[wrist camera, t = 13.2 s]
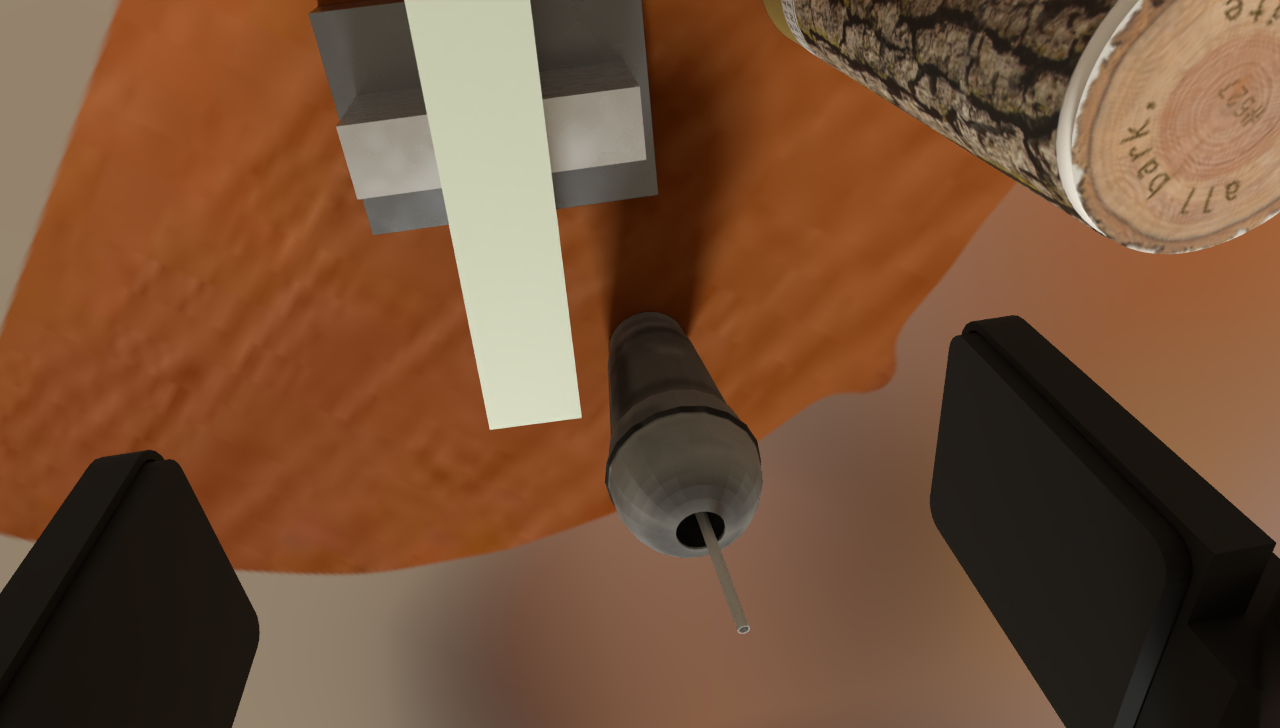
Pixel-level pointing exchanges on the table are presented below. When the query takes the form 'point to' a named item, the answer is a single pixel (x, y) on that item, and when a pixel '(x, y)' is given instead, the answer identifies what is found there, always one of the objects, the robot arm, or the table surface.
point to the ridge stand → (571, 93)
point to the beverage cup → (677, 449)
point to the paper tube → (1084, 100)
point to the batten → (499, 201)
